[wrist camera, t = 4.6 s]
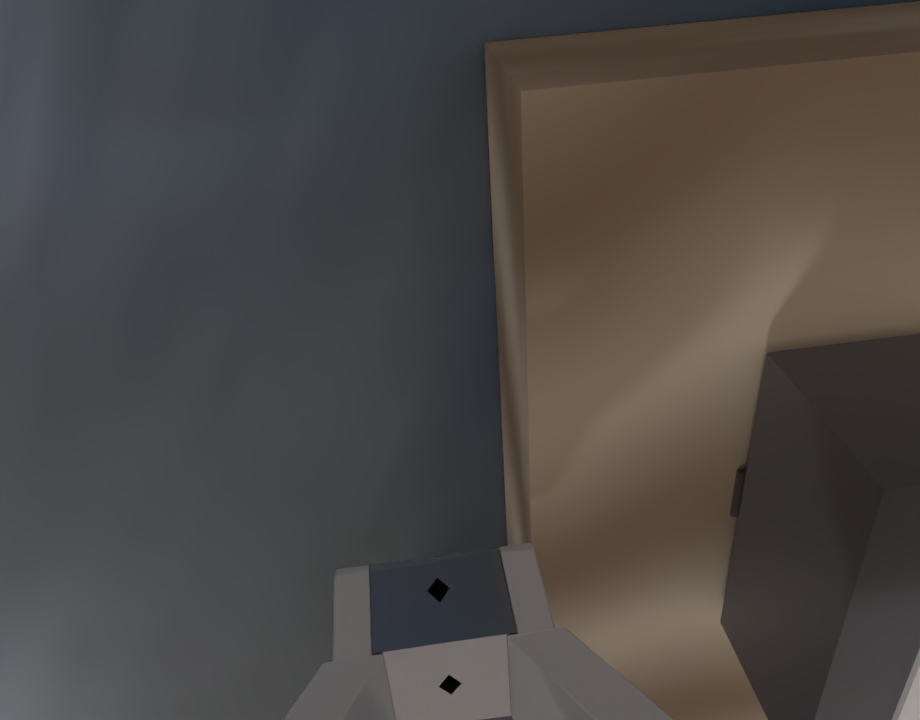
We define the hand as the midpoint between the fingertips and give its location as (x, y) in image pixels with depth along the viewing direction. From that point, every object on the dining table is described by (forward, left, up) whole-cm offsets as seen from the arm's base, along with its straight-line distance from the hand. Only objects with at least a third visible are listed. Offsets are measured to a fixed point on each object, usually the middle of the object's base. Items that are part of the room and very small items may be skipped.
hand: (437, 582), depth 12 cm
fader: (0, -7, -1) cm, 7 cm away
